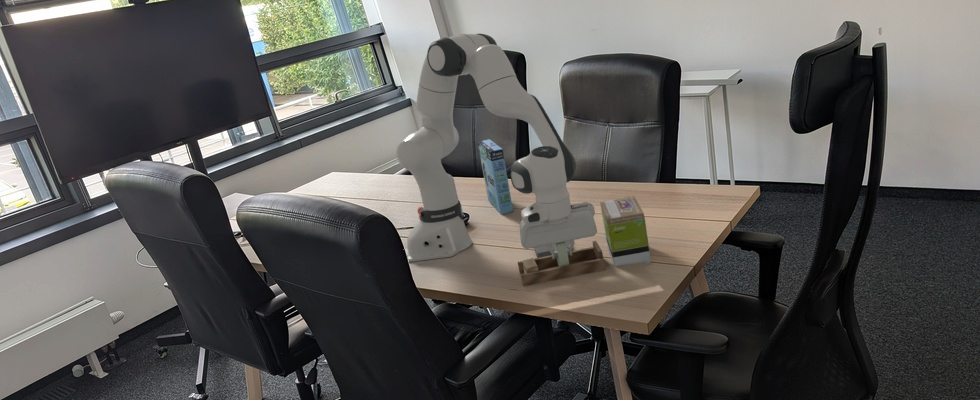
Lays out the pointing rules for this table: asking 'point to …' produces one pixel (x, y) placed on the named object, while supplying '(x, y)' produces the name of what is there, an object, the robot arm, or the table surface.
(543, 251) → the riser
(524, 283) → the rack
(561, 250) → the tall board
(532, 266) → the offcut top
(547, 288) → the table surface
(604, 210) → the tea box
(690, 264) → the table surface
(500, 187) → the blue cardboard box
